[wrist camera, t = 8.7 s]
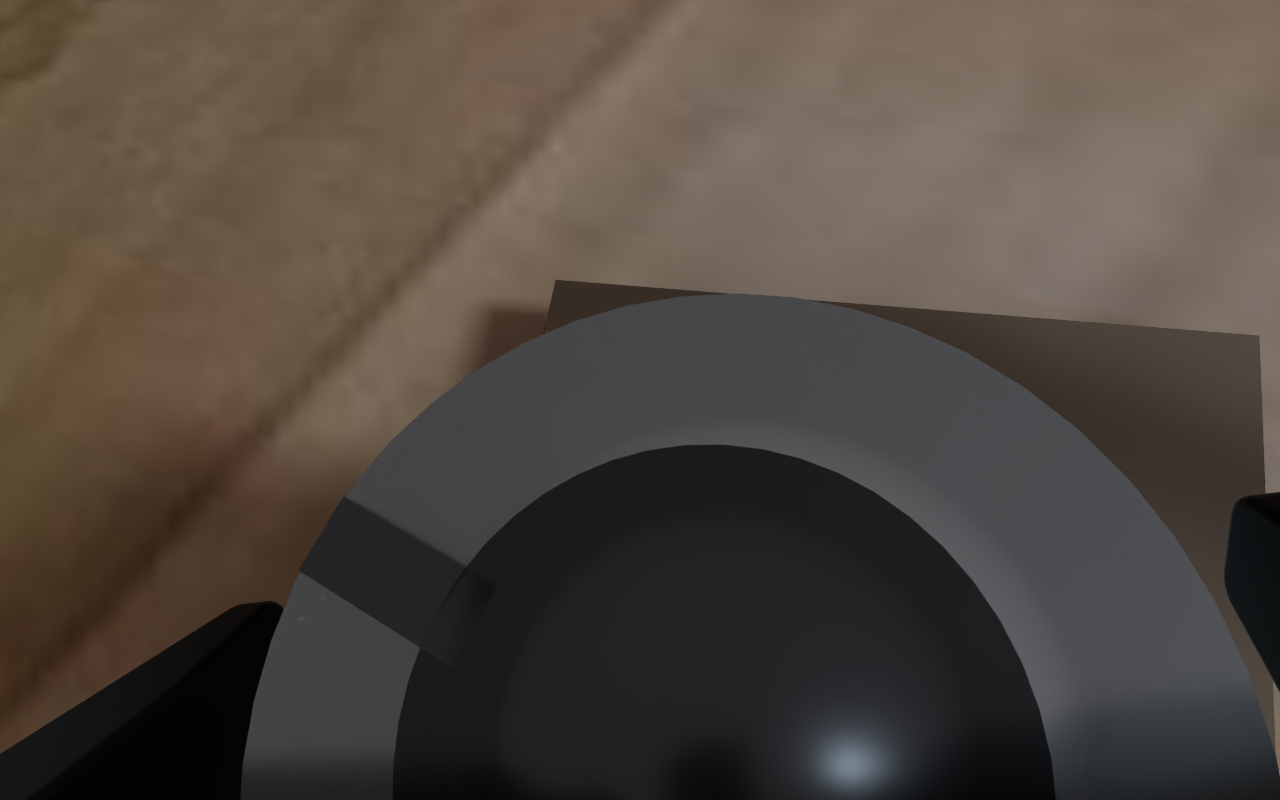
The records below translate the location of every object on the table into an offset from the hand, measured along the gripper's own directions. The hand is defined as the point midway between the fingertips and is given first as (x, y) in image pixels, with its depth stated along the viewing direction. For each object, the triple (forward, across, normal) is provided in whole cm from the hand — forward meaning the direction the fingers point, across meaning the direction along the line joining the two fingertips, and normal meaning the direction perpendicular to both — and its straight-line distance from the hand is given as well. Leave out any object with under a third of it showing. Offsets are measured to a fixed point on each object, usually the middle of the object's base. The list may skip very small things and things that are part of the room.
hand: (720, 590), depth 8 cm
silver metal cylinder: (+5, 0, +7) cm, 8 cm away
